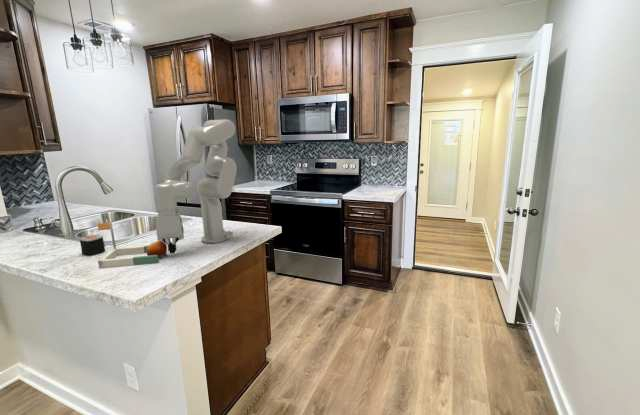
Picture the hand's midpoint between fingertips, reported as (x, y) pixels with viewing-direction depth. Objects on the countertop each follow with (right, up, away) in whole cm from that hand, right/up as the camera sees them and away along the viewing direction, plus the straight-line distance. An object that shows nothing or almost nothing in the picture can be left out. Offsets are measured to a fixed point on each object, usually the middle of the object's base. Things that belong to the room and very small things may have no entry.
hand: (172, 252), depth 133 cm
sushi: (-38, -1, +5) cm, 39 cm away
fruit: (-6, -2, -1) cm, 6 cm away
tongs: (-17, -2, -3) cm, 17 cm away
